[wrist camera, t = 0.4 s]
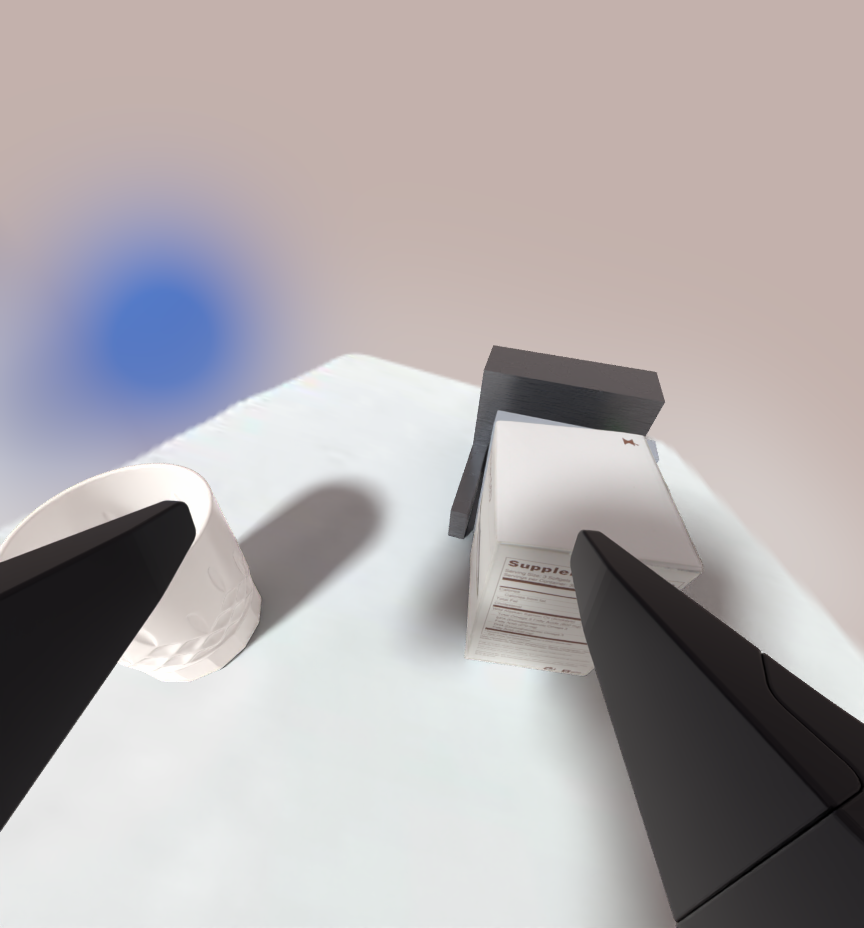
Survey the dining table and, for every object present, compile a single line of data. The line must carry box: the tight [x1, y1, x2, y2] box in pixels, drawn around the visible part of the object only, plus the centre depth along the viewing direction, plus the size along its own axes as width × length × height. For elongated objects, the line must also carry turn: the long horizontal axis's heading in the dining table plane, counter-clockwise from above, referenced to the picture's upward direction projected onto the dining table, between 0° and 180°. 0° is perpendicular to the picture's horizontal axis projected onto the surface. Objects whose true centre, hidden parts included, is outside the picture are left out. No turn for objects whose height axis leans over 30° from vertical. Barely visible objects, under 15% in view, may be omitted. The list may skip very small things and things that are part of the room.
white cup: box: [0, 463, 262, 682], centre depth 19 cm, size 8×8×10 cm
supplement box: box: [464, 421, 703, 676], centre depth 19 cm, size 7×7×13 cm
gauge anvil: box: [448, 346, 665, 539], centre depth 27 cm, size 12×12×10 cm
